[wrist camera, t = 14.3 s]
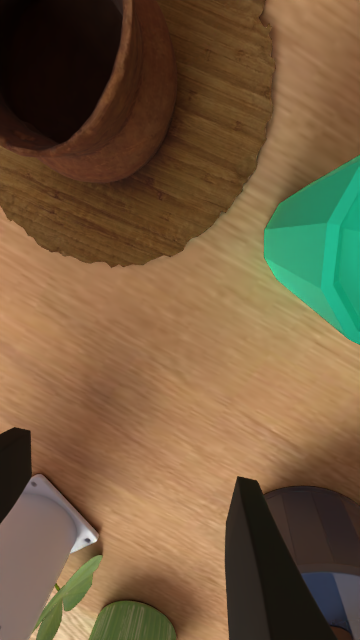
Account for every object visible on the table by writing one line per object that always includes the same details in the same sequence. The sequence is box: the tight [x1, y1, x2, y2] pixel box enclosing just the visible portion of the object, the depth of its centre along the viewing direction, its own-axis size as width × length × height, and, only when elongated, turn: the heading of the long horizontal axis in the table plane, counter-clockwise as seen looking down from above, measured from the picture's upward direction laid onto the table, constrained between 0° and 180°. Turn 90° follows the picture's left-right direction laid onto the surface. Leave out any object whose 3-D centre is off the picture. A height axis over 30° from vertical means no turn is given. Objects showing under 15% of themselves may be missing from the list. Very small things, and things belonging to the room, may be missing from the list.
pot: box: [264, 486, 360, 567], centre depth 20 cm, size 10×10×6 cm
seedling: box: [32, 555, 103, 640], centre depth 26 cm, size 7×8×7 cm
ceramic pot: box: [0, 0, 276, 268], centre depth 12 cm, size 18×18×7 cm
